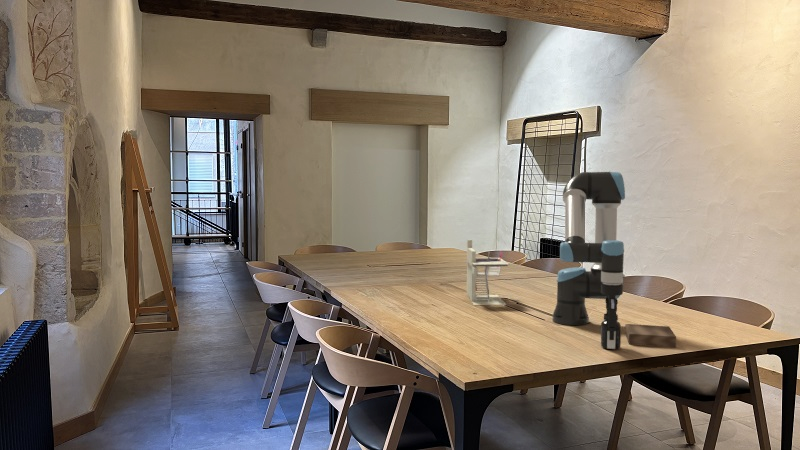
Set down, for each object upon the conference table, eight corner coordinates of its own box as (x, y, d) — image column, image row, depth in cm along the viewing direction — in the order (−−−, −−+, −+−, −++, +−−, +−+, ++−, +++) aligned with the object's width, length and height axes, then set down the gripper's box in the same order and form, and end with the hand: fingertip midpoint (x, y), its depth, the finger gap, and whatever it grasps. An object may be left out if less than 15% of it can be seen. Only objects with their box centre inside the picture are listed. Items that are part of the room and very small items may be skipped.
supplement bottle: (615, 344, 218) (616, 312, 217) (623, 349, 212) (624, 316, 211) (597, 344, 218) (598, 312, 217) (604, 349, 211) (605, 316, 210)
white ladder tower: (510, 305, 290) (511, 245, 288) (473, 305, 290) (474, 245, 288) (500, 295, 317) (501, 239, 315) (466, 295, 317) (467, 239, 315)
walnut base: (629, 344, 219) (629, 333, 219) (625, 333, 235) (625, 323, 234) (675, 347, 215) (676, 336, 215) (668, 336, 230) (669, 326, 230)
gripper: (625, 288, 202) (623, 354, 204) (620, 279, 221) (619, 339, 223) (602, 287, 205) (601, 352, 206) (599, 278, 223) (598, 337, 225)
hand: (610, 345), depth 215 cm, fingers closed on supplement bottle, 7 cm apart
